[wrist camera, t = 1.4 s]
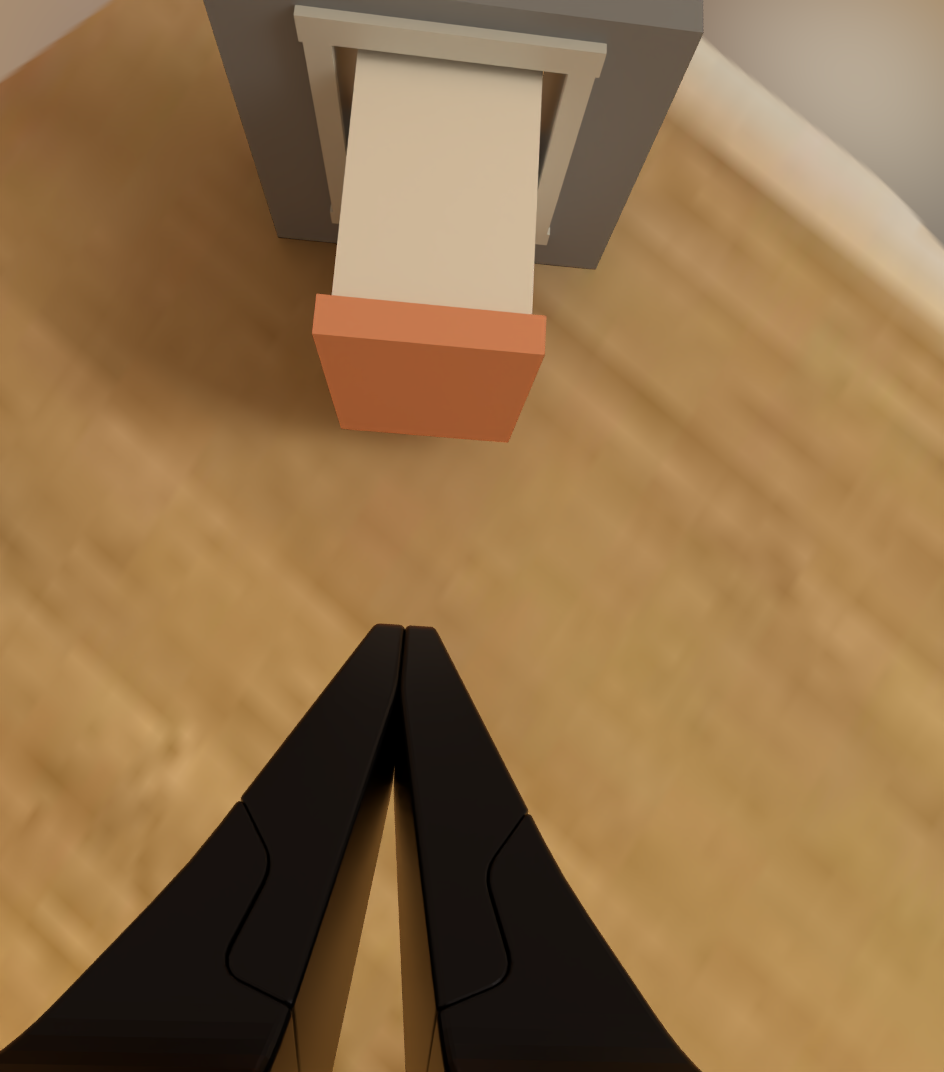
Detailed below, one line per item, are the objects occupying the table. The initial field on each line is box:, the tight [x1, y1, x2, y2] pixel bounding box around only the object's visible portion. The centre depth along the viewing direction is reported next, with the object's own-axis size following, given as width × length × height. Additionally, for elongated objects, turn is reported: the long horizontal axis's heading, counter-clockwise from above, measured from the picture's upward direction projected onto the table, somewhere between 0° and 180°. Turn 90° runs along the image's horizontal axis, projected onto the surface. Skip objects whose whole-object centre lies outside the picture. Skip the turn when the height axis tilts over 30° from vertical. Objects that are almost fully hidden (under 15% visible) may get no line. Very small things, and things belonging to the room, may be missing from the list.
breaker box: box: [203, 0, 703, 269], centre depth 21 cm, size 4×12×10 cm, turn 87°
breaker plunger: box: [312, 49, 546, 442], centre depth 20 cm, size 10×5×6 cm, turn 177°
